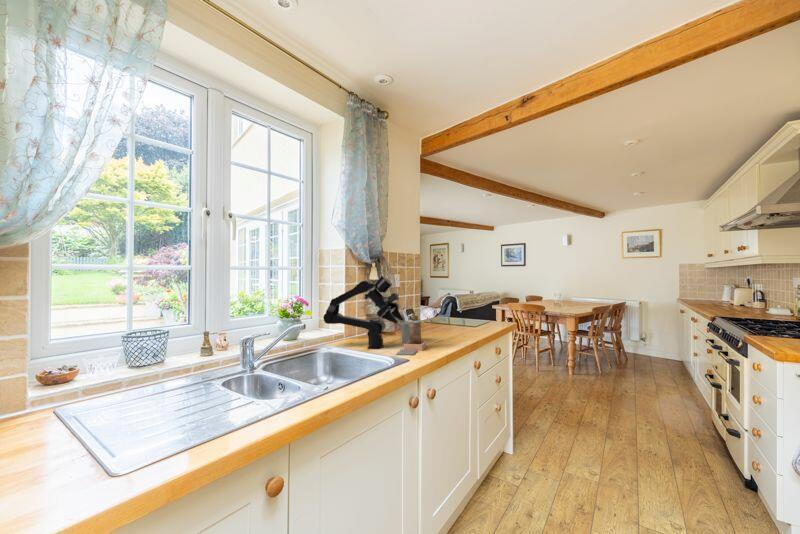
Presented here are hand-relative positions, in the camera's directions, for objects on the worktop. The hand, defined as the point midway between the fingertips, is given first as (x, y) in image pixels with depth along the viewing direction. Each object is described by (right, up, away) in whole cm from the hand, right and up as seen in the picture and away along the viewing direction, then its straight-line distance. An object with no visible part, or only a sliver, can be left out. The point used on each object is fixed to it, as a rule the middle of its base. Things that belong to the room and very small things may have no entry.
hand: (400, 321), depth 168 cm
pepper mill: (+8, -13, -2) cm, 15 cm away
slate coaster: (+3, -13, -10) cm, 17 cm away
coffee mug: (+7, -14, +16) cm, 22 cm away
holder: (+8, -13, -2) cm, 15 cm away
